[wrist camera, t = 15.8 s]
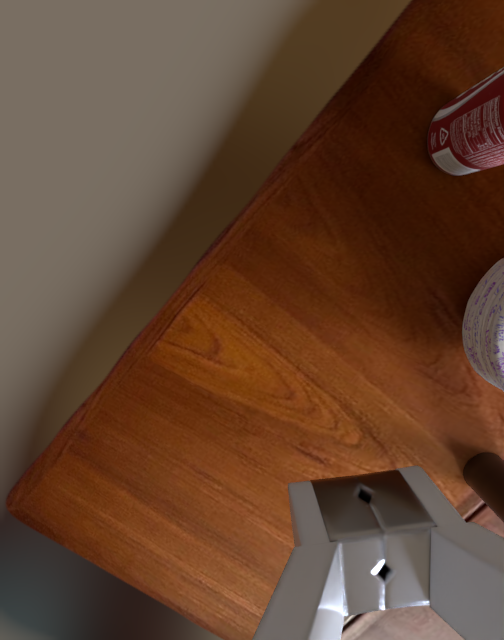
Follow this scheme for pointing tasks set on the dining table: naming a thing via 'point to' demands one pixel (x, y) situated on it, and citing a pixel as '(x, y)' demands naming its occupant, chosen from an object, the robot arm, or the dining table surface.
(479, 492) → the pepper mill
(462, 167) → the soda can
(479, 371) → the paper bowls
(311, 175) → the dining table surface
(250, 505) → the dining table surface
